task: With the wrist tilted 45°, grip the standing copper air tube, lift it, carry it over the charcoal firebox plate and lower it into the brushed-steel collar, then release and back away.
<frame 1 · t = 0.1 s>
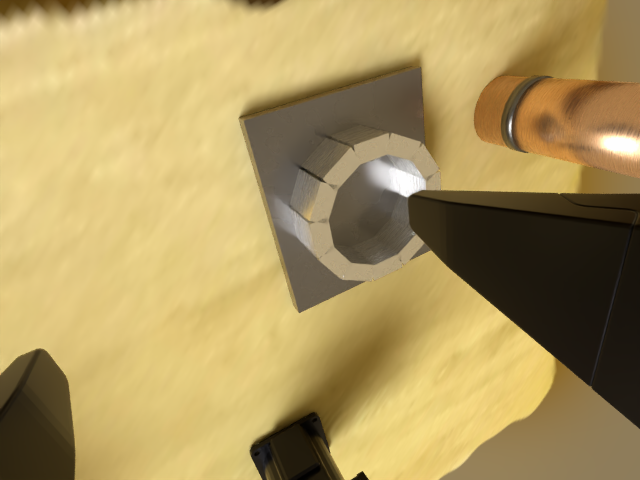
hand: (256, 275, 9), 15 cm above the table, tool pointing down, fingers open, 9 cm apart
air tube: (498, 110, 30), on the table
firebox plate: (348, 194, 27), on the table
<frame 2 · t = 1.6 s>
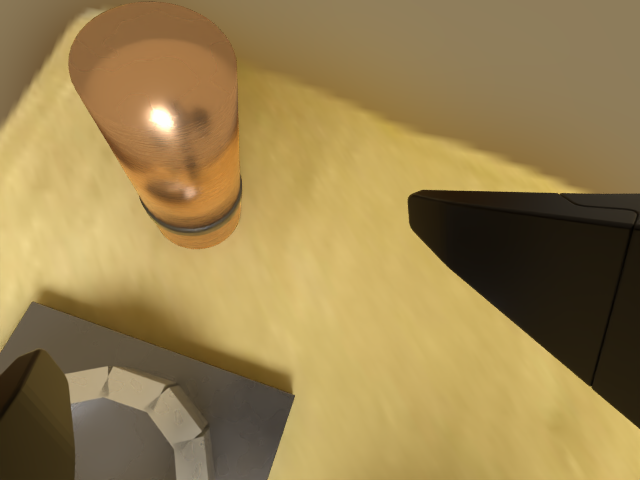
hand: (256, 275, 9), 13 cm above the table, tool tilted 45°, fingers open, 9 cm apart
air tube: (198, 209, 23), on the table
firebox plate: (112, 473, 19), on the table
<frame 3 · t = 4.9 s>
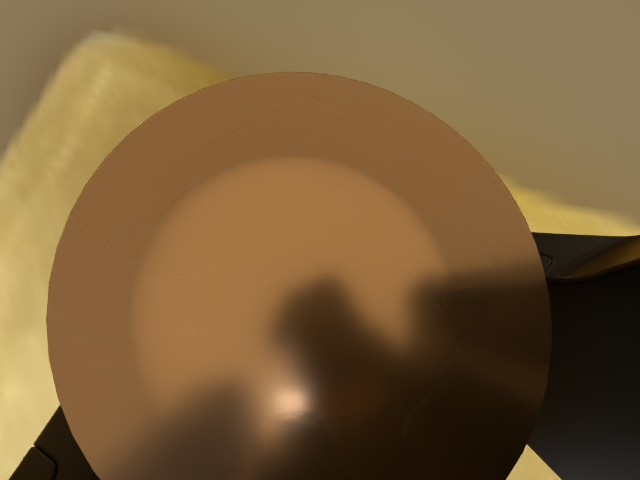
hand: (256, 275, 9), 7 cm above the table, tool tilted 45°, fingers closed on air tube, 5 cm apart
air tube: (266, 347, 15), on the table, touching gripper
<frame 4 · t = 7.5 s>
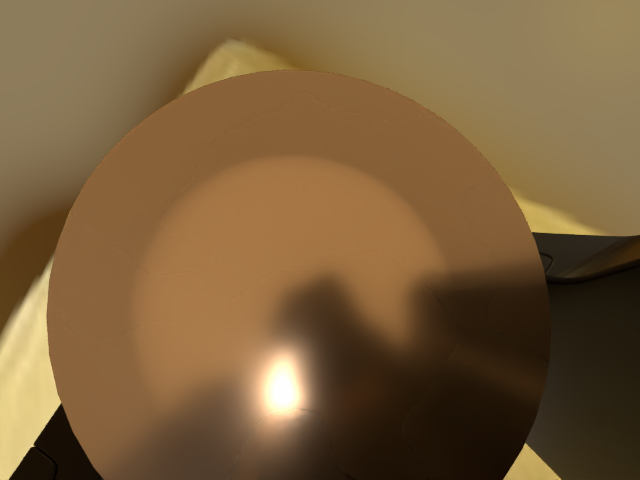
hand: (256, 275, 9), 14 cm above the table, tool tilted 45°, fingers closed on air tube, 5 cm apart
air tube: (266, 346, 15), point 7 cm above the table, touching gripper
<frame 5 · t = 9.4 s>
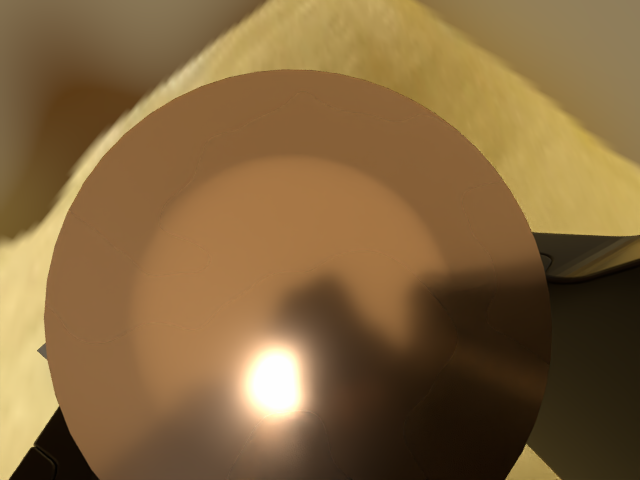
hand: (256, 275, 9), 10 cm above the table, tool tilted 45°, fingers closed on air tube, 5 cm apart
air tube: (266, 346, 15), point 4 cm above the table, touching gripper
when the fingers open (9 cm above the table, at t = 10.5 s): air tube drops 1 cm, resting on firebox plate.
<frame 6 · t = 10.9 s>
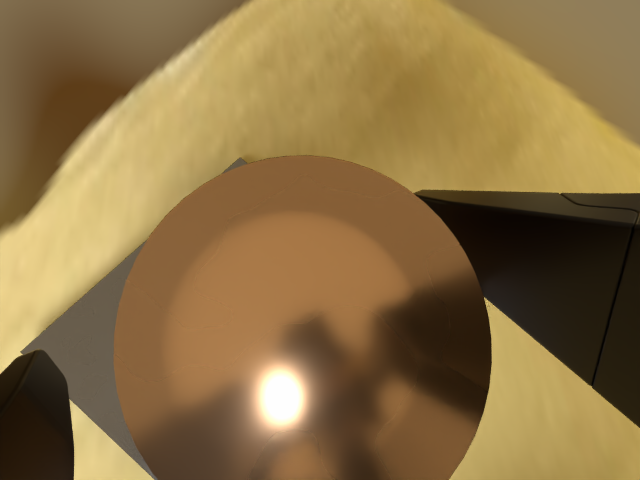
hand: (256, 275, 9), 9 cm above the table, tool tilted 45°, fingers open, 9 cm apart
air tube: (265, 350, 16), point 1 cm above the table, touching firebox plate
firebox plate: (263, 350, 17), on the table
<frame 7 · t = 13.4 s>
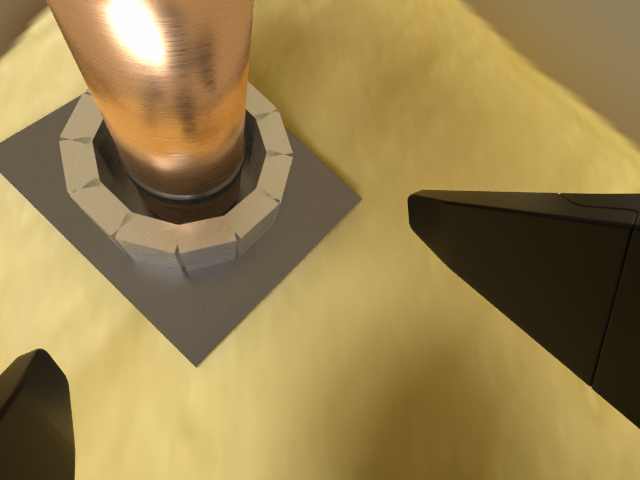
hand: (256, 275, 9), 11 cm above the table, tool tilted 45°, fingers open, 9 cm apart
air tube: (190, 179, 20), point 1 cm above the table, touching firebox plate
firebox plate: (191, 187, 21), on the table
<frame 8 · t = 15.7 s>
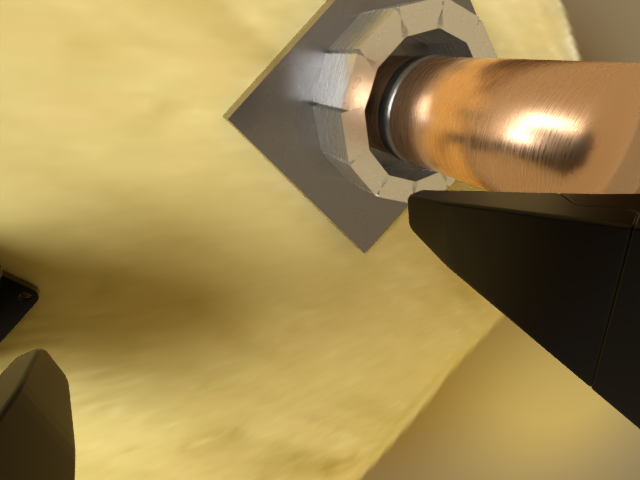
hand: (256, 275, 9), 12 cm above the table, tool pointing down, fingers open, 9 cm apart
air tube: (390, 104, 22), point 1 cm above the table, touching firebox plate
firebox plate: (381, 102, 23), on the table
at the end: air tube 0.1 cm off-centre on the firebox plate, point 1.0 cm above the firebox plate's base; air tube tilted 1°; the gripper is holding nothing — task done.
